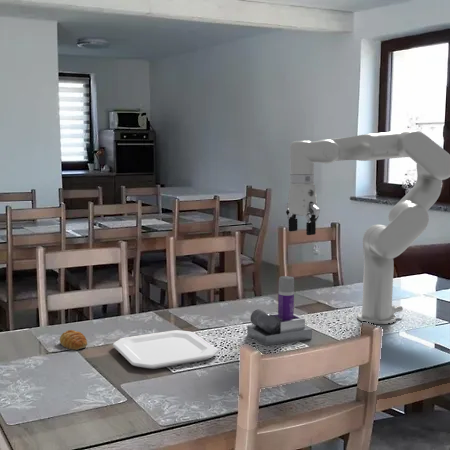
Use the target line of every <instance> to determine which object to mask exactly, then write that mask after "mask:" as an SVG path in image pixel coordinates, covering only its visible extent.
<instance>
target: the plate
mask: <svg viewBox="0 0 450 450" xmlns="http://www.w3.org/2000/svg"><path fill="white" fill-rule="evenodd" d="M112 347H113V348H114V349H115V350H116V351H118V353H119V354H121V356H122V357H123V358H125V360H127V361H128V363H130V364H131V365H132V366H134V367H136V368H137V367H138V368H142V369H149V370H155V369H161V368H167V367H173V366H178V365H179V366H180V365H185V364H190V363H195V362H202V361H205V360H208V359H210V358H213V357H215V355H217V353H218V352H219V349H218V348H217V347H216V346H214V345H212V344H211V343H209V342H208V341H206V340H205V339H204V338H202V337H201V336H199V335H197V334H196V333H195V332H193V331H188V330H181V329H180V330H179V329H178V330H177V329H175V330H166V331H161V332H160V331H159V332H154V333H147V334H140V335H134V336H126V337H121V338H119V339H118V340H116V341H115V342H113V343H112Z"/></svg>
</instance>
